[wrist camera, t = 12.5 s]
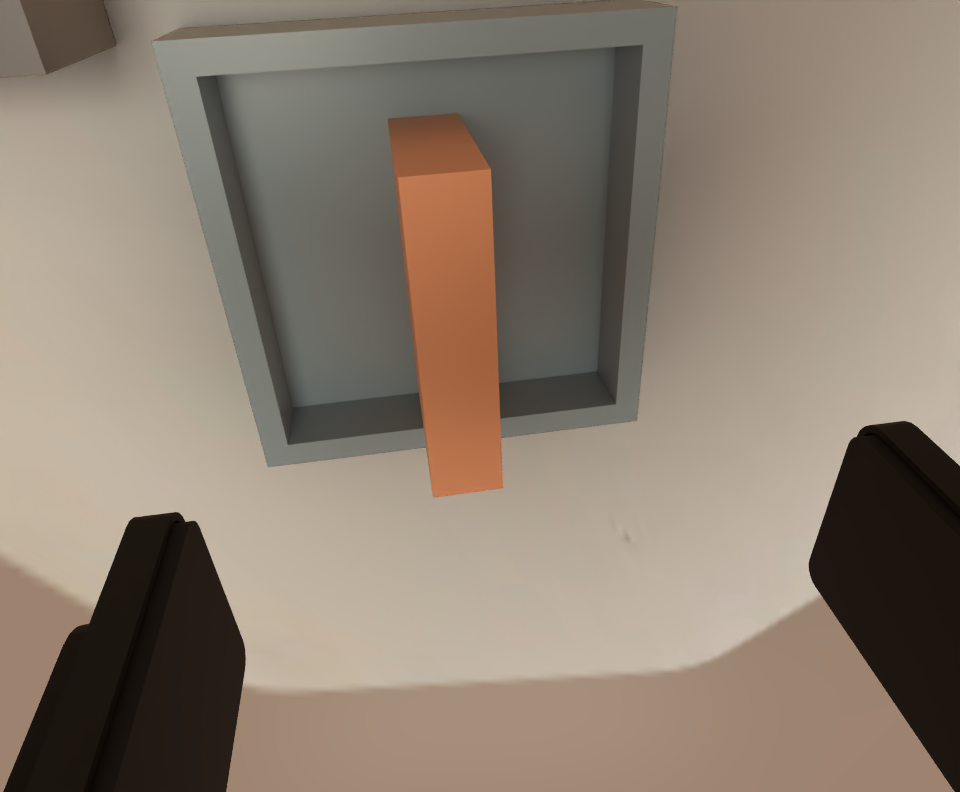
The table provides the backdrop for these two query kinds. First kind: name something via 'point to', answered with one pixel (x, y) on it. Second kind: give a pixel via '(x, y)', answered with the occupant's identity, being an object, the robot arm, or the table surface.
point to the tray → (374, 213)
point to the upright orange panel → (450, 297)
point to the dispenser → (50, 34)
